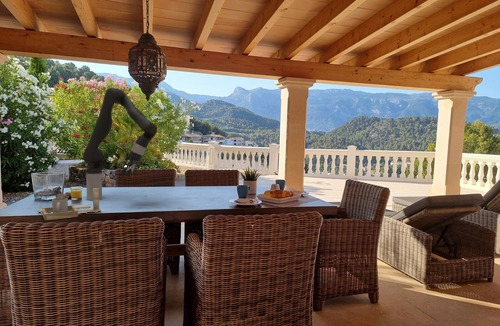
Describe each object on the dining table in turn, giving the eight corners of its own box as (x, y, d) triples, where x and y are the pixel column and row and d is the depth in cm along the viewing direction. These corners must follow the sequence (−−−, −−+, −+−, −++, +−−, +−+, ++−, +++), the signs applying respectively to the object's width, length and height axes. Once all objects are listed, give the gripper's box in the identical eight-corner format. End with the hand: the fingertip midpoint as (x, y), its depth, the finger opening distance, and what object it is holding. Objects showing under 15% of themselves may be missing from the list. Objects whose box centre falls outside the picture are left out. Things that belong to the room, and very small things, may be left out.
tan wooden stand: (42, 213, 178) (41, 190, 177) (97, 207, 194) (96, 186, 193) (44, 220, 166) (43, 195, 165) (103, 213, 182) (102, 190, 181)
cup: (69, 213, 182) (68, 197, 182) (65, 218, 173) (65, 201, 172) (54, 213, 180) (53, 197, 179) (49, 218, 171) (49, 201, 170)
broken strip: (37, 211, 184) (37, 209, 183) (88, 206, 199) (88, 204, 199) (38, 213, 180) (38, 211, 179) (90, 207, 195) (90, 206, 195)
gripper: (135, 150, 206) (123, 173, 205) (127, 148, 192) (114, 173, 191) (146, 156, 206) (134, 179, 205) (138, 154, 192) (125, 179, 191)
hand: (124, 176), depth 198 cm, fingers open, 8 cm apart
